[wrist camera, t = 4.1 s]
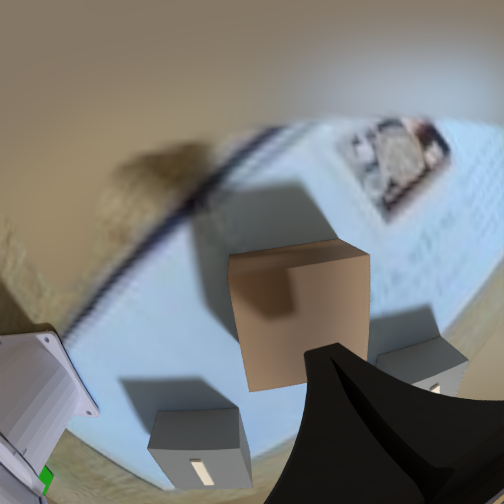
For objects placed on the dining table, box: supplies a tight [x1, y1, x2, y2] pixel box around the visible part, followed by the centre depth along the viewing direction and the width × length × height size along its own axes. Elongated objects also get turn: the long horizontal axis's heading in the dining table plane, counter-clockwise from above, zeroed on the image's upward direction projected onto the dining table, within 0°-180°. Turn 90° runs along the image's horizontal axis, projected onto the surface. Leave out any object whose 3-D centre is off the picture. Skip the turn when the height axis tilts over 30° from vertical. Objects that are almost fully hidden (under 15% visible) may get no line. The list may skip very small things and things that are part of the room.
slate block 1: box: [147, 407, 253, 489], centre depth 16 cm, size 6×6×4 cm
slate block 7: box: [376, 336, 469, 397], centre depth 16 cm, size 6×6×4 cm
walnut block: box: [227, 239, 370, 392], centre depth 14 cm, size 6×6×4 cm
